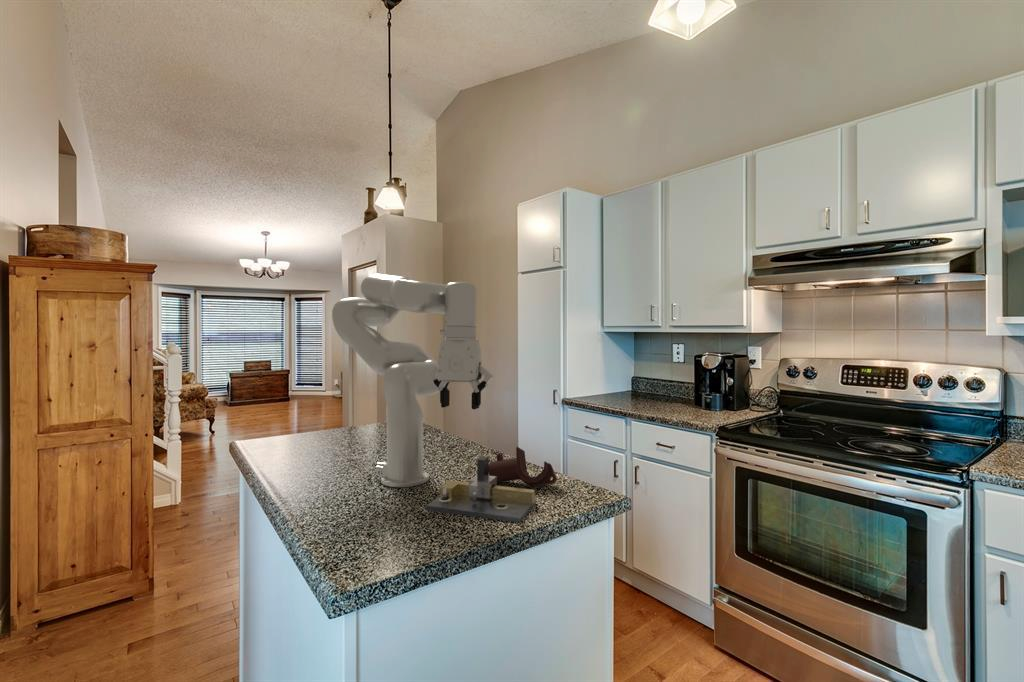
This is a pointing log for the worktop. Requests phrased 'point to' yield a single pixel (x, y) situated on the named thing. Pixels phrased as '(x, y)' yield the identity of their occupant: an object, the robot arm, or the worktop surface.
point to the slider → (482, 480)
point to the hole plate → (482, 508)
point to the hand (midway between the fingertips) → (460, 407)
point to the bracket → (520, 470)
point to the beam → (497, 492)
